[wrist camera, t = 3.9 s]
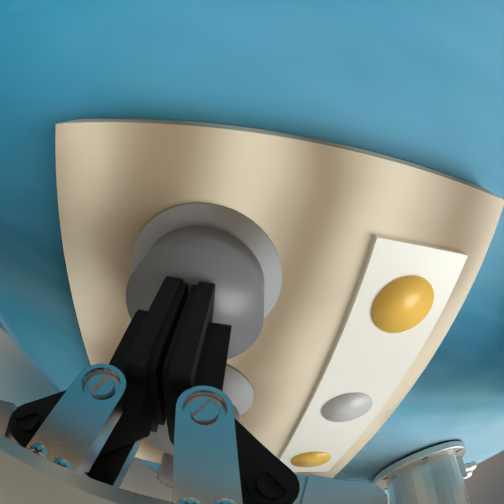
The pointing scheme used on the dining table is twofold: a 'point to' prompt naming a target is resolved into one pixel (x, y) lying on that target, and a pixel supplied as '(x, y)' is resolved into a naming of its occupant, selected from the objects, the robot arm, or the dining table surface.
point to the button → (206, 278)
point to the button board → (257, 242)
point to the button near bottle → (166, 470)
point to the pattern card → (373, 347)
